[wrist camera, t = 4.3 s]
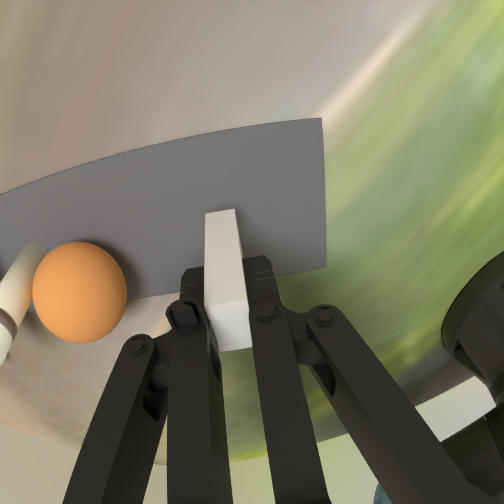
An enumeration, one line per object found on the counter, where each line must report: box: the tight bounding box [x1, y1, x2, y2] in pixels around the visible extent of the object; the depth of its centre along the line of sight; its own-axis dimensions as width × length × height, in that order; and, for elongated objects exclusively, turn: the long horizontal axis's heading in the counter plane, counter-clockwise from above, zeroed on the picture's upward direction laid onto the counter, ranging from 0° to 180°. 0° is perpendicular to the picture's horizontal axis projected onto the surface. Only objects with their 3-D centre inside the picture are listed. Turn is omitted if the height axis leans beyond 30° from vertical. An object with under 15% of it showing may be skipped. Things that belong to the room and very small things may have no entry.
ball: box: [32, 242, 127, 343], centre depth 17 cm, size 6×6×6 cm
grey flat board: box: [0, 118, 326, 313], centre depth 18 cm, size 27×10×1 cm, turn 98°
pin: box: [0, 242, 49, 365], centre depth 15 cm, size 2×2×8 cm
